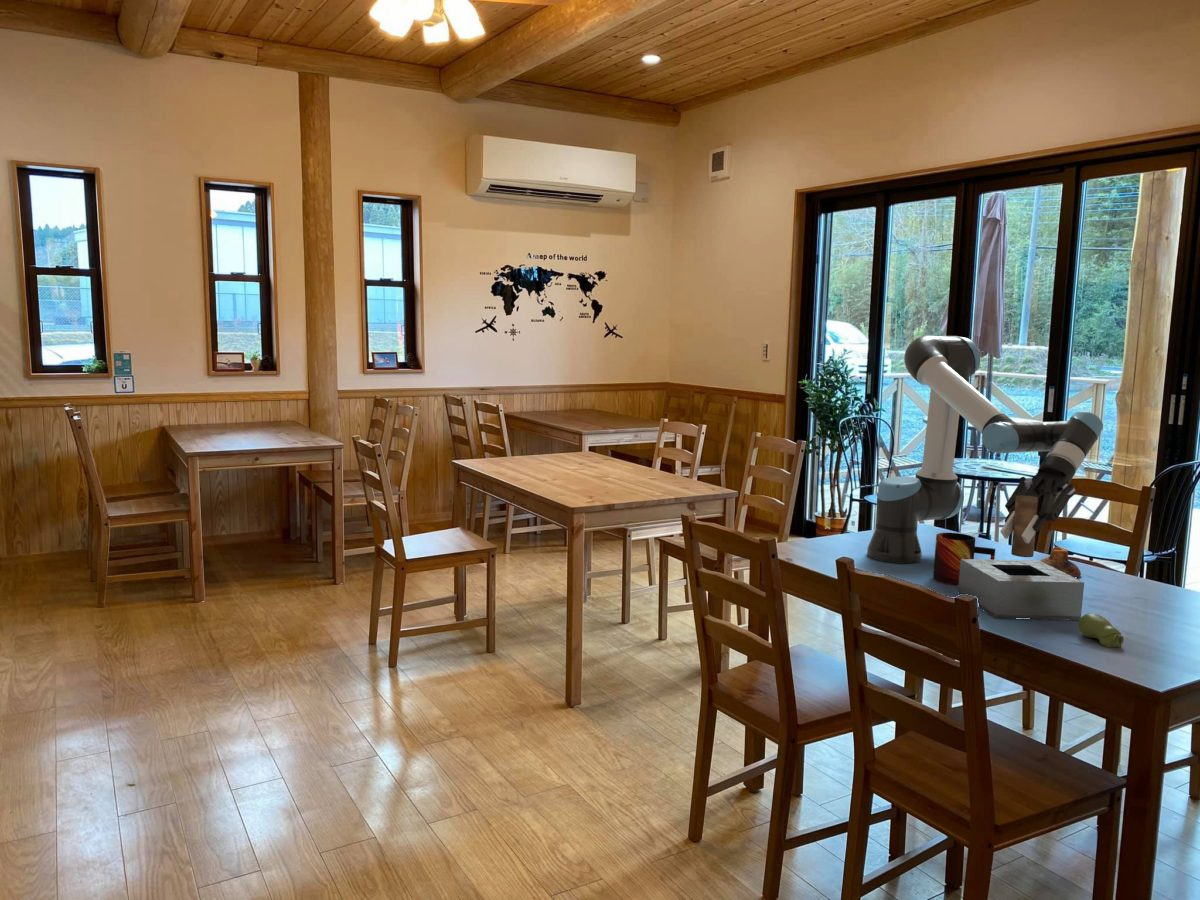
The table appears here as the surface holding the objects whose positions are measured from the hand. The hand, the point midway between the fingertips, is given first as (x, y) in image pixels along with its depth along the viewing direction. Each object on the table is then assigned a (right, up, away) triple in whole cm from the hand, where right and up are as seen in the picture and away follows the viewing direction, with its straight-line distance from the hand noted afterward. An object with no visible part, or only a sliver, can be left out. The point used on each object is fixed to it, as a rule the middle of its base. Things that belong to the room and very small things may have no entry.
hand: (1014, 537), depth 211 cm
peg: (+3, -5, +3) cm, 6 cm away
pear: (+10, -21, -19) cm, 30 cm away
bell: (+29, -14, +38) cm, 50 cm away
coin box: (+3, -17, +4) cm, 18 cm away
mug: (-2, -14, +27) cm, 30 cm away
